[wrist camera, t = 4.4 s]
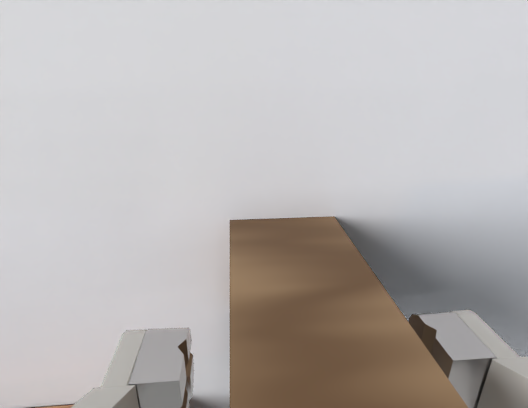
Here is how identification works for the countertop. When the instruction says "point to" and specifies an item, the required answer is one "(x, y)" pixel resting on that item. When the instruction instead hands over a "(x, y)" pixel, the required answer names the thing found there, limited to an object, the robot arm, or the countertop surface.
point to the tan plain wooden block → (320, 325)
